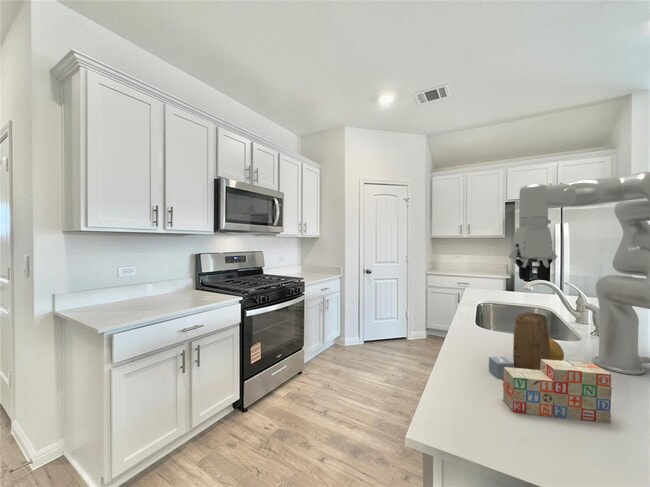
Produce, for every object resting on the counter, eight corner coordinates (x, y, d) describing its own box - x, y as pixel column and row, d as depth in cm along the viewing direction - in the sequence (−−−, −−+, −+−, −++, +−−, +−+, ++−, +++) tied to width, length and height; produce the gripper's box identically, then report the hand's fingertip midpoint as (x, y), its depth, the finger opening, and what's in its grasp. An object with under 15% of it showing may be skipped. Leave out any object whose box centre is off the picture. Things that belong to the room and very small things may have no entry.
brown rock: (536, 384, 88) (537, 319, 87) (510, 374, 94) (510, 313, 94) (552, 375, 93) (553, 314, 93) (527, 366, 99) (527, 309, 99)
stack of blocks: (512, 413, 74) (512, 365, 73) (502, 399, 80) (503, 355, 79) (611, 424, 69) (612, 373, 69) (593, 409, 75) (593, 362, 75)
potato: (554, 343, 96) (567, 336, 101) (512, 334, 108) (525, 328, 112) (557, 371, 96) (570, 363, 101) (515, 359, 108) (528, 351, 113)
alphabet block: (503, 371, 96) (503, 356, 96) (513, 379, 91) (513, 362, 91) (488, 371, 96) (488, 356, 96) (497, 379, 91) (497, 362, 91)
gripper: (550, 224, 96) (549, 277, 97) (499, 224, 96) (499, 278, 97) (569, 222, 89) (568, 281, 89) (514, 222, 89) (513, 281, 89)
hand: (532, 278), depth 93 cm, fingers open, 5 cm apart
